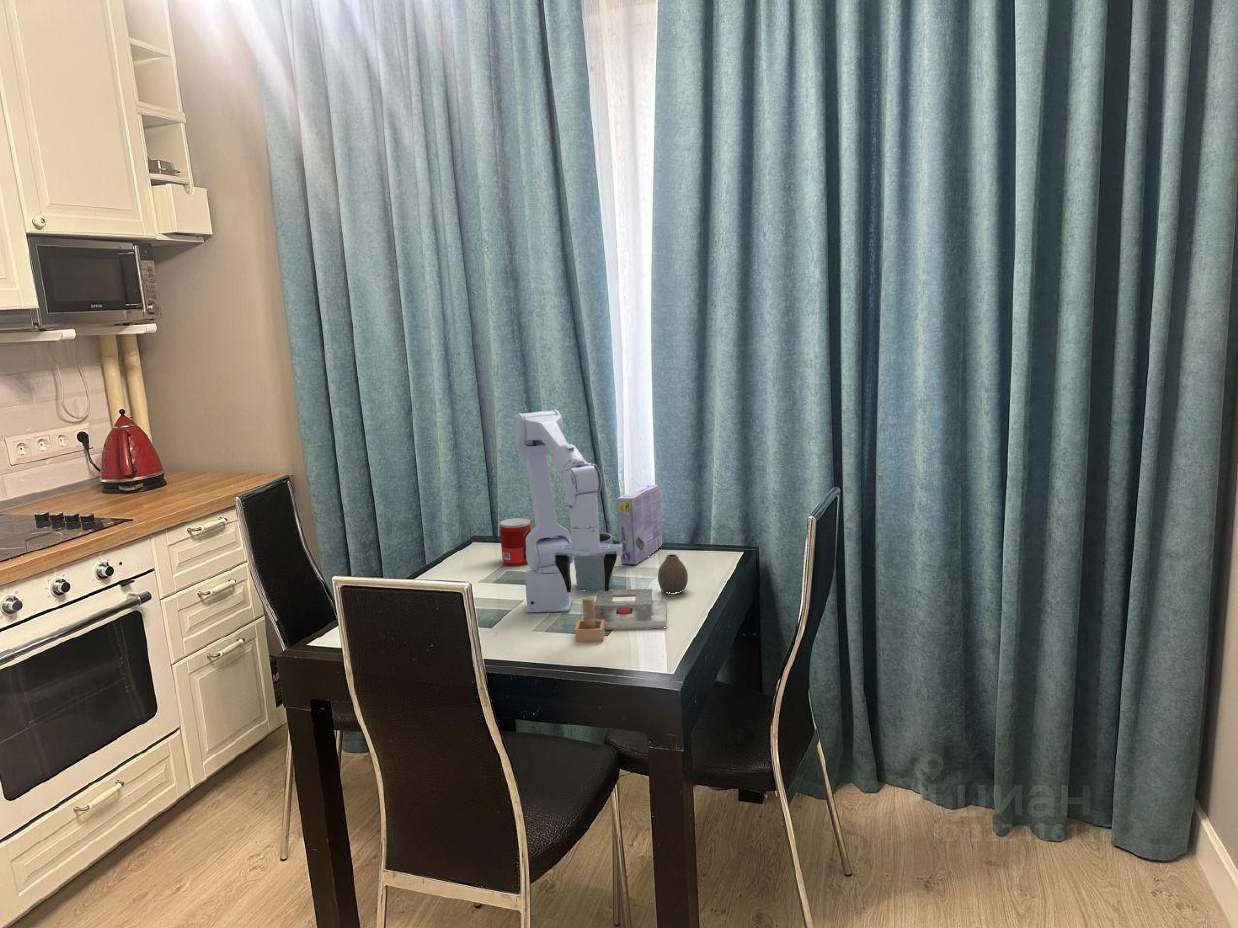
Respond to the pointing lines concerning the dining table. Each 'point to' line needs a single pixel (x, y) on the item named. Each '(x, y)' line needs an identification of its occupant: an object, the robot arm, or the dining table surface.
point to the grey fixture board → (642, 610)
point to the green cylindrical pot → (592, 569)
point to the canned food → (514, 541)
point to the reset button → (624, 610)
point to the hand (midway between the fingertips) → (588, 590)
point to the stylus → (589, 613)
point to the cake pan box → (639, 523)
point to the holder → (589, 632)
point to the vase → (672, 575)
